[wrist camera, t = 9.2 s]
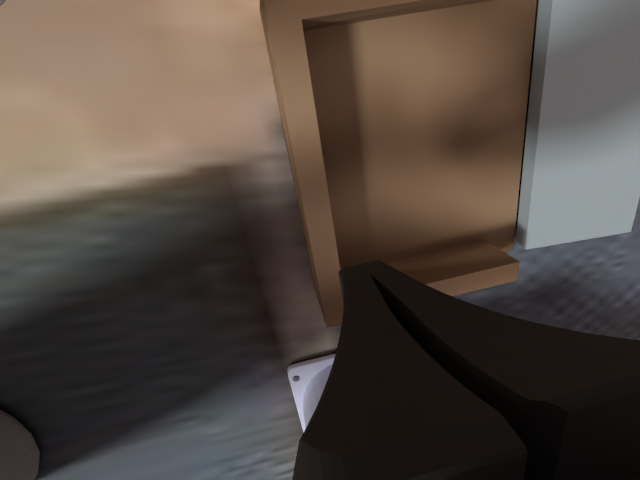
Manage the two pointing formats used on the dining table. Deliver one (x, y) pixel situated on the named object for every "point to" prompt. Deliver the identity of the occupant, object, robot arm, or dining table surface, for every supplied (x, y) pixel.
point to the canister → (17, 450)
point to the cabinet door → (582, 123)
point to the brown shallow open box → (404, 134)
